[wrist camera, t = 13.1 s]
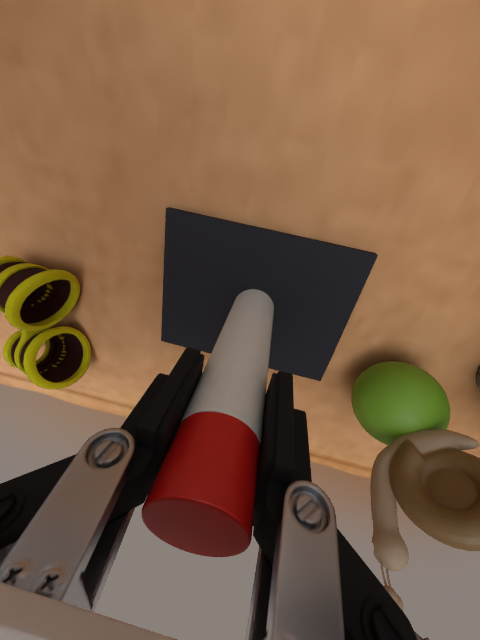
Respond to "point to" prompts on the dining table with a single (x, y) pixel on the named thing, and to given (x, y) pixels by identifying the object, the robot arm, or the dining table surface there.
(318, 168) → the dining table surface
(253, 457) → the marker
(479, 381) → the pen cup
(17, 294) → the opera glasses
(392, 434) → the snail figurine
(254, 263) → the mat
